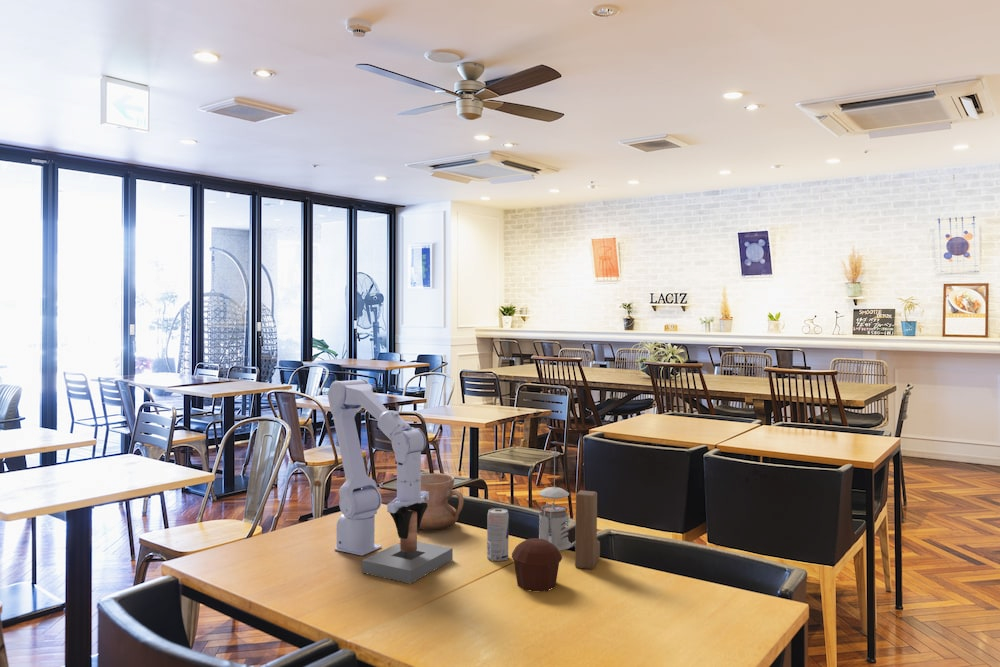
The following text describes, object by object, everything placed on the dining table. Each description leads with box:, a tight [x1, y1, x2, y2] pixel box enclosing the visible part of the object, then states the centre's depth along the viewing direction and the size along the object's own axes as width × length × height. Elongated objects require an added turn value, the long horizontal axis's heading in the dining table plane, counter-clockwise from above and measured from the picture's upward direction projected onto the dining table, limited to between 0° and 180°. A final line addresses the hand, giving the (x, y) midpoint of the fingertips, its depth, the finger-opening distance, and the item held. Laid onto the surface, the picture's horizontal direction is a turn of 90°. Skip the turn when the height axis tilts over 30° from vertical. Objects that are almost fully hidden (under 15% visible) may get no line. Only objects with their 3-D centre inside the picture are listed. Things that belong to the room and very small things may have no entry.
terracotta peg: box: [399, 510, 418, 552], centre depth 173 cm, size 4×4×9 cm
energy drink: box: [486, 507, 510, 562], centre depth 179 cm, size 5×5×12 cm
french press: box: [538, 451, 572, 551], centre depth 189 cm, size 10×12×25 cm
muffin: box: [511, 537, 563, 592], centre depth 162 cm, size 12×11×10 cm
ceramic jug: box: [419, 473, 465, 531], centre depth 205 cm, size 18×14×14 cm
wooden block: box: [574, 489, 601, 570], centre depth 176 cm, size 9×4×18 cm, turn 161°
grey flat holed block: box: [361, 541, 454, 584], centre depth 173 cm, size 14×18×3 cm
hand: (408, 535), depth 173 cm, fingers closed on terracotta peg, 4 cm apart
